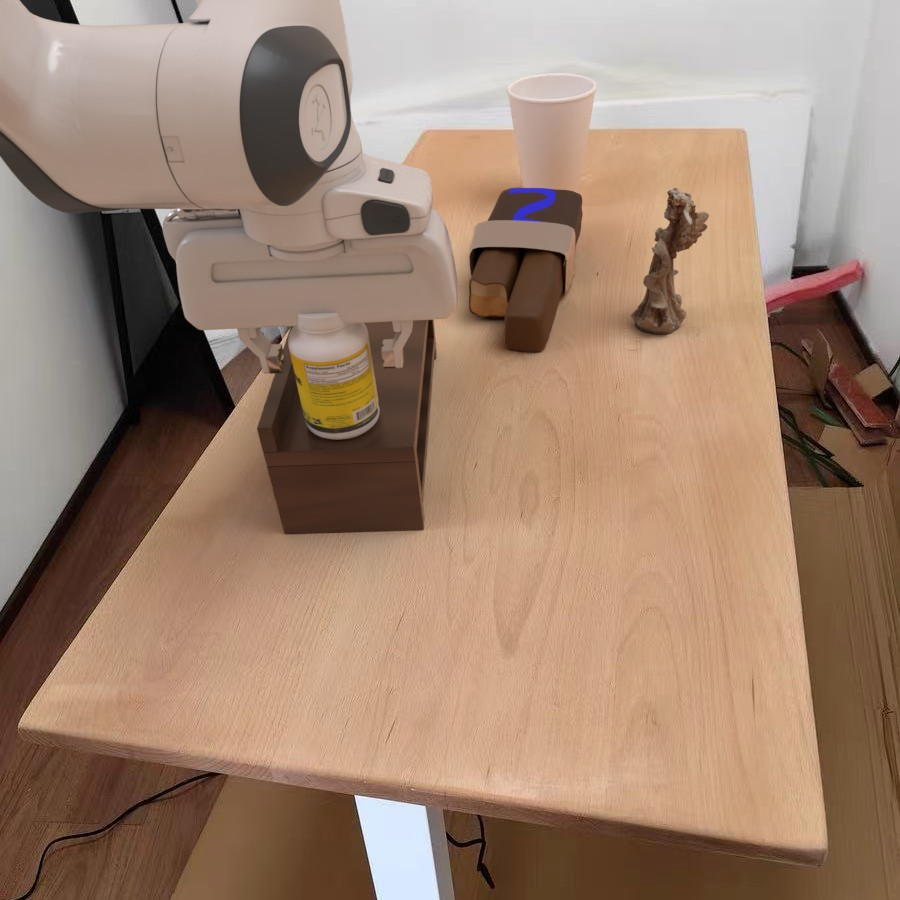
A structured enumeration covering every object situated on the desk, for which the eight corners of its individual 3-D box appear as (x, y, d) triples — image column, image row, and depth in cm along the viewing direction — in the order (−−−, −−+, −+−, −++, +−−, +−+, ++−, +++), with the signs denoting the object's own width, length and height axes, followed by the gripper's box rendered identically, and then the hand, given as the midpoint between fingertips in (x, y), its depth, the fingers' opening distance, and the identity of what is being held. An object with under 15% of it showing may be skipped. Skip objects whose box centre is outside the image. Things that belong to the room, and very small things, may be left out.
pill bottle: (314, 397, 74) (291, 281, 67) (386, 397, 73) (369, 279, 66) (297, 442, 69) (270, 322, 62) (373, 443, 68) (354, 321, 61)
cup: (605, 210, 120) (610, 91, 111) (523, 224, 119) (521, 105, 109) (576, 180, 130) (578, 68, 120) (500, 192, 128) (496, 80, 118)
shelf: (423, 529, 73) (410, 422, 66) (284, 534, 74) (256, 428, 67) (436, 351, 95) (428, 256, 88) (328, 356, 96) (311, 262, 89)
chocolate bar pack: (590, 224, 114) (592, 165, 108) (552, 367, 94) (552, 304, 88) (500, 219, 117) (496, 162, 111) (444, 357, 97) (437, 296, 91)
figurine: (647, 302, 100) (658, 175, 91) (698, 313, 97) (715, 184, 88) (623, 332, 95) (631, 202, 86) (675, 344, 93) (690, 211, 83)
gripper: (141, 224, 57) (193, 395, 66) (448, 207, 56) (461, 384, 65) (168, 187, 62) (213, 351, 71) (451, 171, 61) (462, 340, 69)
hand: (334, 367), depth 68 cm, fingers open, 8 cm apart
